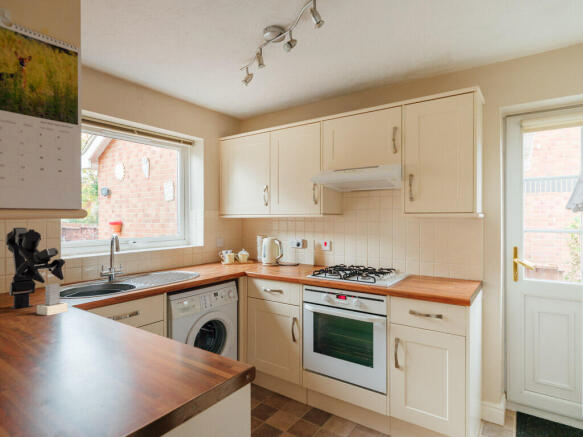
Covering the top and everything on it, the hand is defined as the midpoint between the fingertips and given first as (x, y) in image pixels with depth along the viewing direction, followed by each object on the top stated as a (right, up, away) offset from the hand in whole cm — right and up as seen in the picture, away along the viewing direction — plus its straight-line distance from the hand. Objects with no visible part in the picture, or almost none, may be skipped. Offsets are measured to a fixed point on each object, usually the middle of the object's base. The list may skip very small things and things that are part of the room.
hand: (53, 280), depth 144 cm
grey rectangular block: (0, -13, 0) cm, 13 cm away
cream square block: (0, -13, -1) cm, 13 cm away
